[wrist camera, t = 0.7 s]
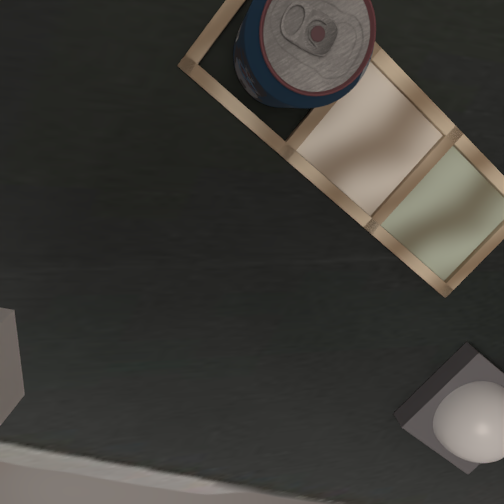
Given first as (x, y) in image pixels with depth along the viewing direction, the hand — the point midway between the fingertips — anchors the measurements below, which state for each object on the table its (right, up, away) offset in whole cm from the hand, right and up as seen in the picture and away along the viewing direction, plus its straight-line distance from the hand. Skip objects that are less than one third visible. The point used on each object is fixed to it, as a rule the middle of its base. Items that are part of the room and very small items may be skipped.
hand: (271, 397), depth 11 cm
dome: (+20, -11, +35) cm, 42 cm away
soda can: (+1, +18, +22) cm, 28 cm away
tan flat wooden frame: (+9, +12, +24) cm, 29 cm away
